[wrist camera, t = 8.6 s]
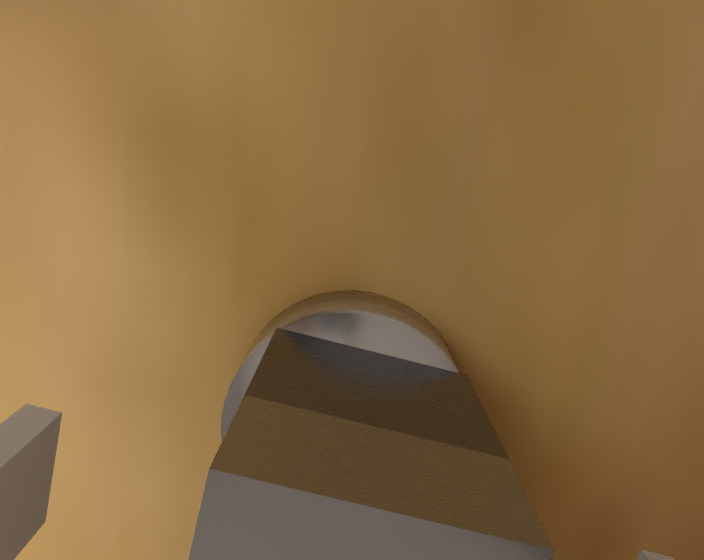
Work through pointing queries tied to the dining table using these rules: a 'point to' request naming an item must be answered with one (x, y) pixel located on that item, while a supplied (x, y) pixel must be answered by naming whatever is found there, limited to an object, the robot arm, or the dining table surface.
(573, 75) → the dining table surface
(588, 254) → the dining table surface
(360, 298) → the metal ladle
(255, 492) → the grey rectangular block
